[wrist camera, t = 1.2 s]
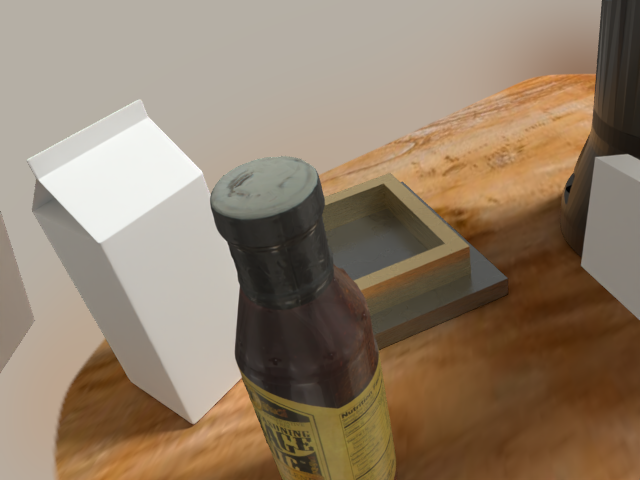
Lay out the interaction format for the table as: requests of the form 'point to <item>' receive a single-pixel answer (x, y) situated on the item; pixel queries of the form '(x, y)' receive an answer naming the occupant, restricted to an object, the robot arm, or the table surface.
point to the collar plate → (405, 259)
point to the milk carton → (144, 256)
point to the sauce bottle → (302, 328)
